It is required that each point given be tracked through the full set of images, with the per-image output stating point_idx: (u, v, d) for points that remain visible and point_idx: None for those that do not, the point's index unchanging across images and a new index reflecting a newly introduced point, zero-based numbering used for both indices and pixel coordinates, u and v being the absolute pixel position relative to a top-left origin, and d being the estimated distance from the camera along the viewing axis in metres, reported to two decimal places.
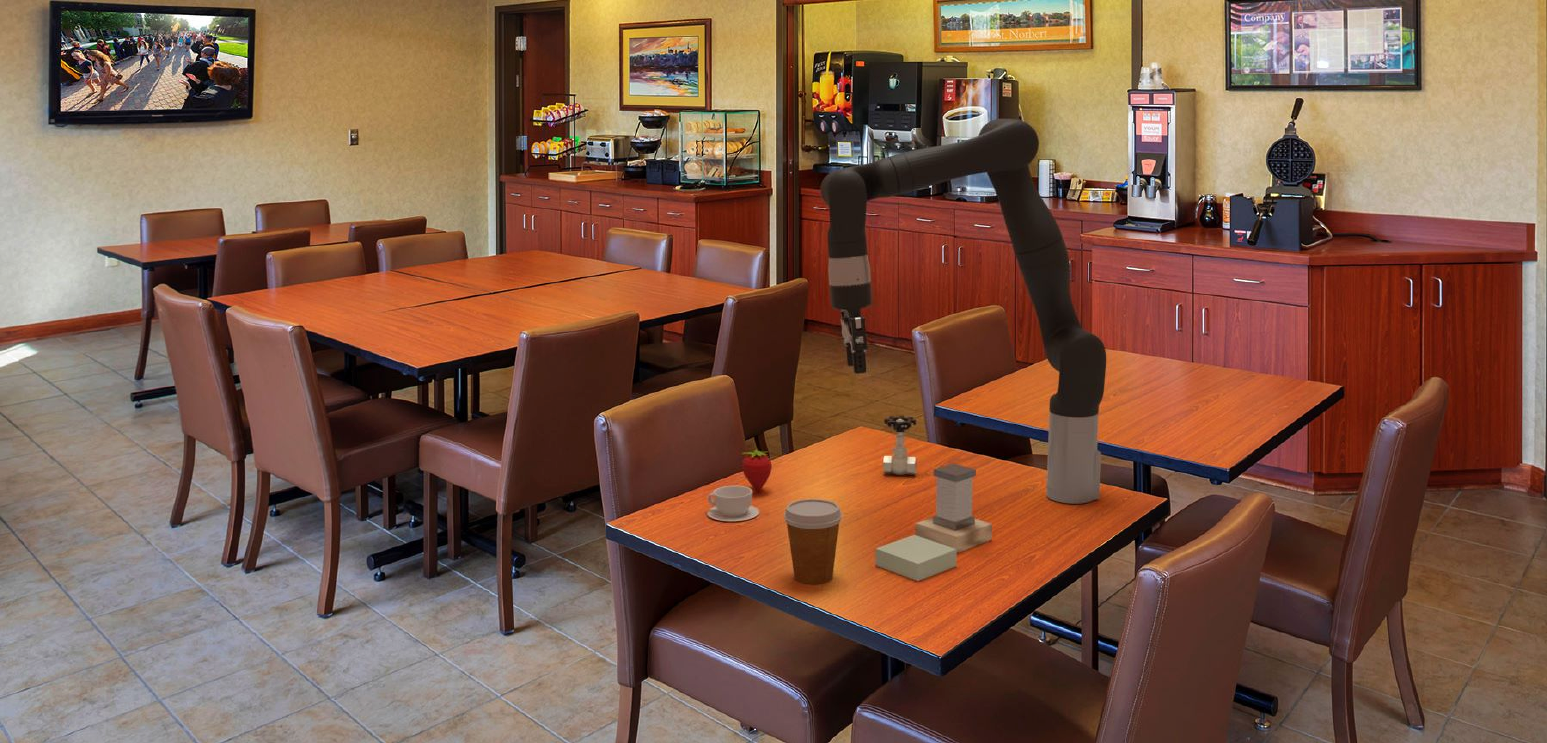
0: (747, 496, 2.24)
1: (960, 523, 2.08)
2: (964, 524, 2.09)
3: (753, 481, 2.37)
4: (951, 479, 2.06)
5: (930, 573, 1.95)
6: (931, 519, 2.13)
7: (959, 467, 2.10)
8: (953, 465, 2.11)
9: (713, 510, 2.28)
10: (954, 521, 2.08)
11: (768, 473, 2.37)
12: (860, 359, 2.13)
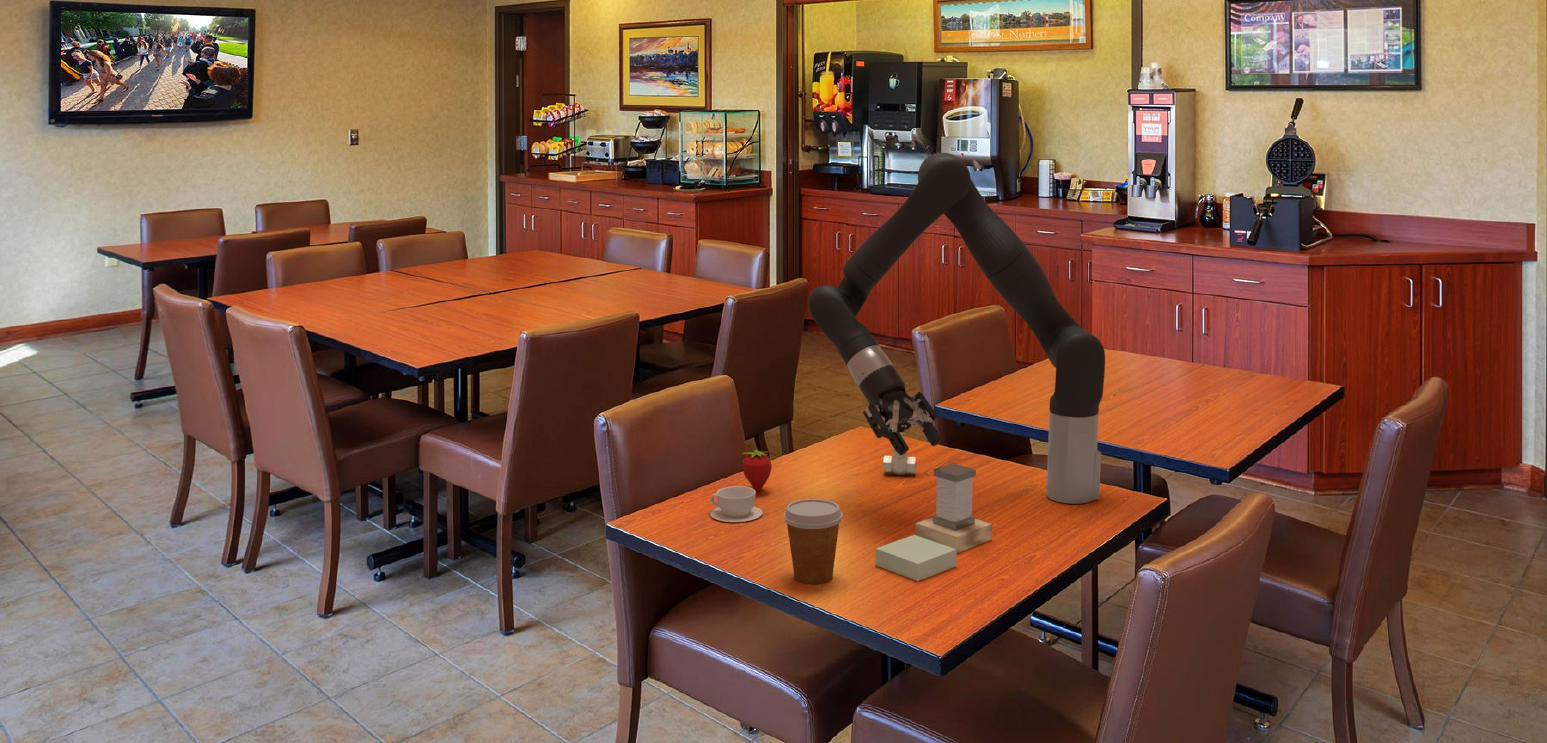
0: (750, 497, 2.23)
1: (960, 523, 2.08)
2: (964, 524, 2.09)
3: (753, 481, 2.37)
4: (951, 479, 2.06)
5: (930, 573, 1.95)
6: (931, 519, 2.13)
7: (959, 467, 2.10)
8: (953, 465, 2.11)
9: (716, 511, 2.28)
10: (954, 521, 2.08)
11: (768, 473, 2.37)
12: (893, 441, 2.12)
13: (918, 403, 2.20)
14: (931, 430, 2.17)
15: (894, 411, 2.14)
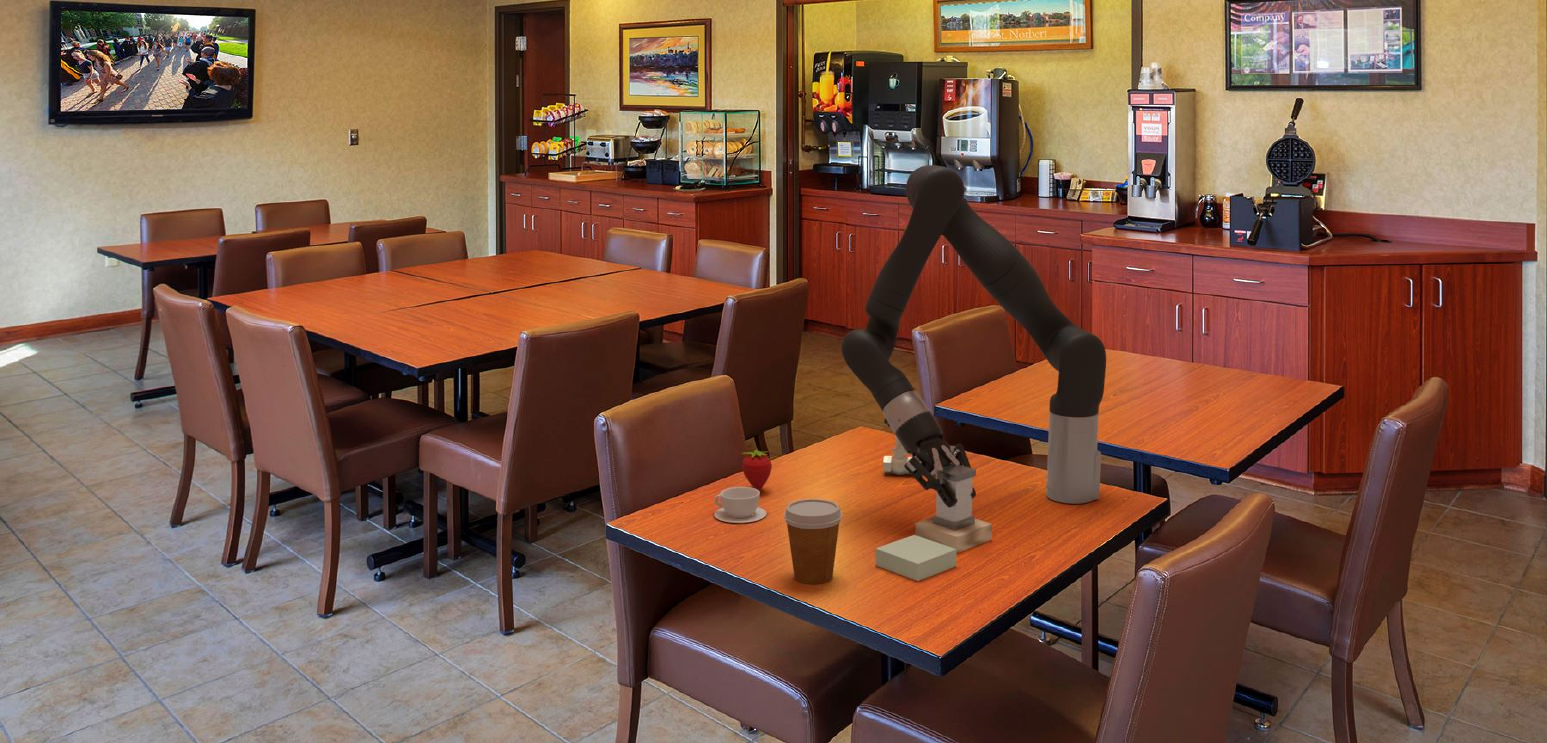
0: (755, 497, 2.23)
1: (960, 523, 2.08)
2: (964, 524, 2.09)
3: (753, 481, 2.37)
4: (951, 479, 2.06)
5: (930, 573, 1.95)
6: (931, 519, 2.13)
7: (959, 467, 2.10)
8: (953, 465, 2.11)
9: (720, 512, 2.27)
10: (954, 521, 2.08)
11: (768, 473, 2.37)
12: (942, 493, 2.07)
13: (956, 454, 2.15)
14: None
15: (936, 461, 2.09)
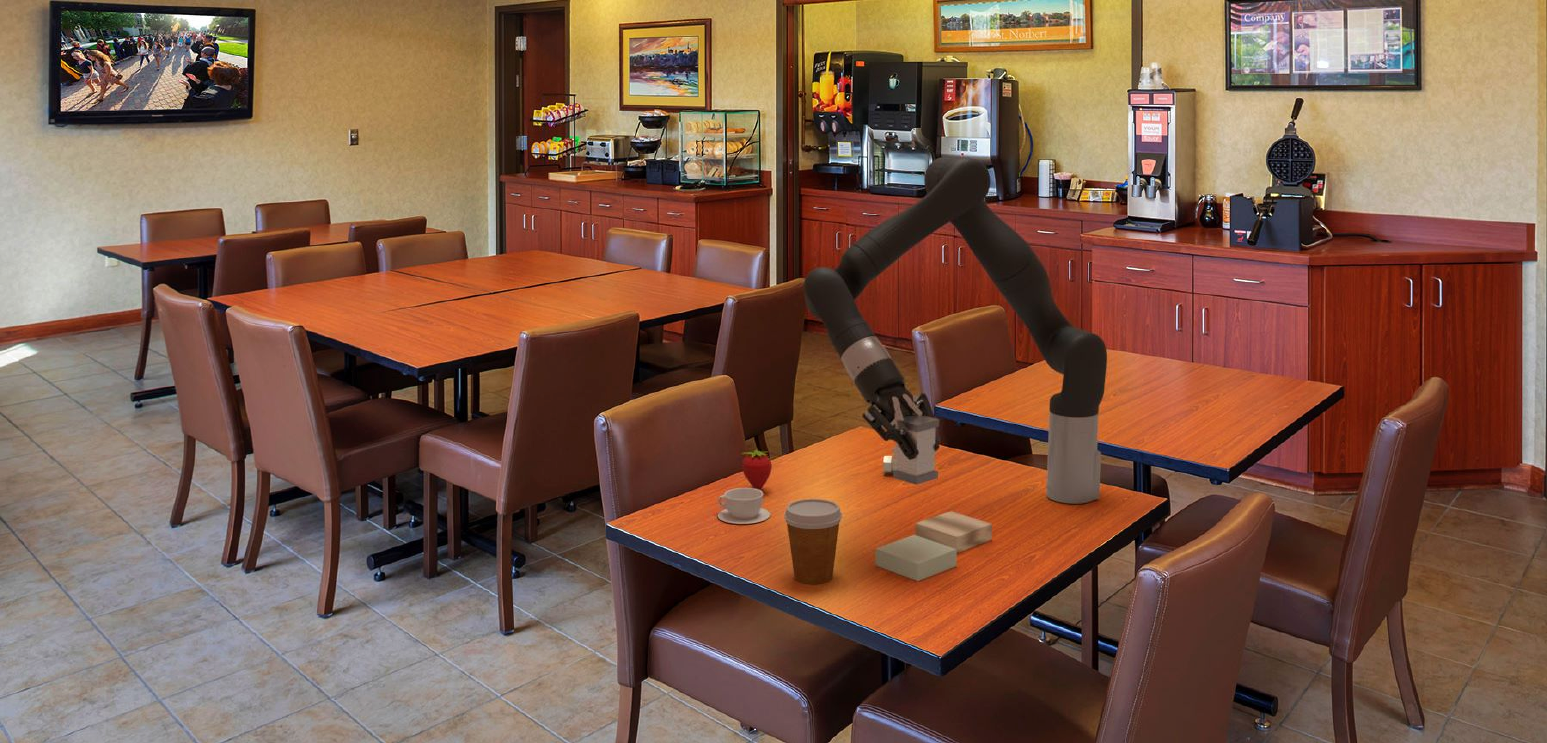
0: (758, 498, 2.22)
1: (922, 477, 1.94)
2: (926, 478, 1.95)
3: (753, 481, 2.37)
4: (912, 429, 1.92)
5: (930, 573, 1.95)
6: (931, 519, 2.13)
7: (921, 417, 1.96)
8: (915, 415, 1.97)
9: (723, 513, 2.27)
10: (915, 474, 1.94)
11: (768, 473, 2.37)
12: (902, 444, 1.93)
13: (919, 404, 2.00)
14: None
15: (896, 410, 1.95)
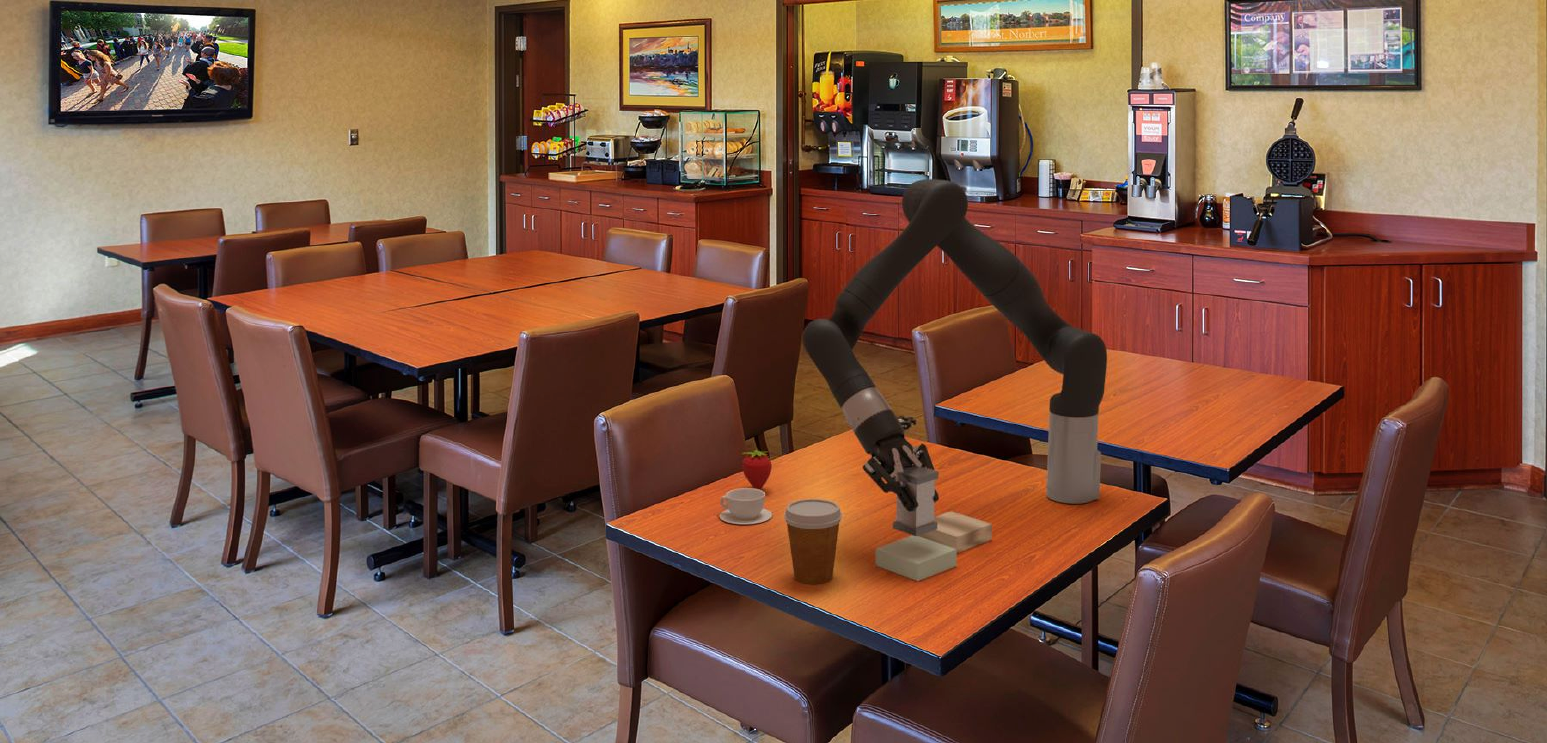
0: (760, 499, 2.22)
1: (921, 528, 1.96)
2: (925, 529, 1.96)
3: (753, 481, 2.37)
4: (912, 481, 1.94)
5: (930, 573, 1.95)
6: None
7: (921, 469, 1.97)
8: None
9: (725, 513, 2.26)
10: (915, 526, 1.95)
11: (768, 473, 2.37)
12: (902, 496, 1.95)
13: (918, 454, 2.02)
14: None
15: (896, 462, 1.97)
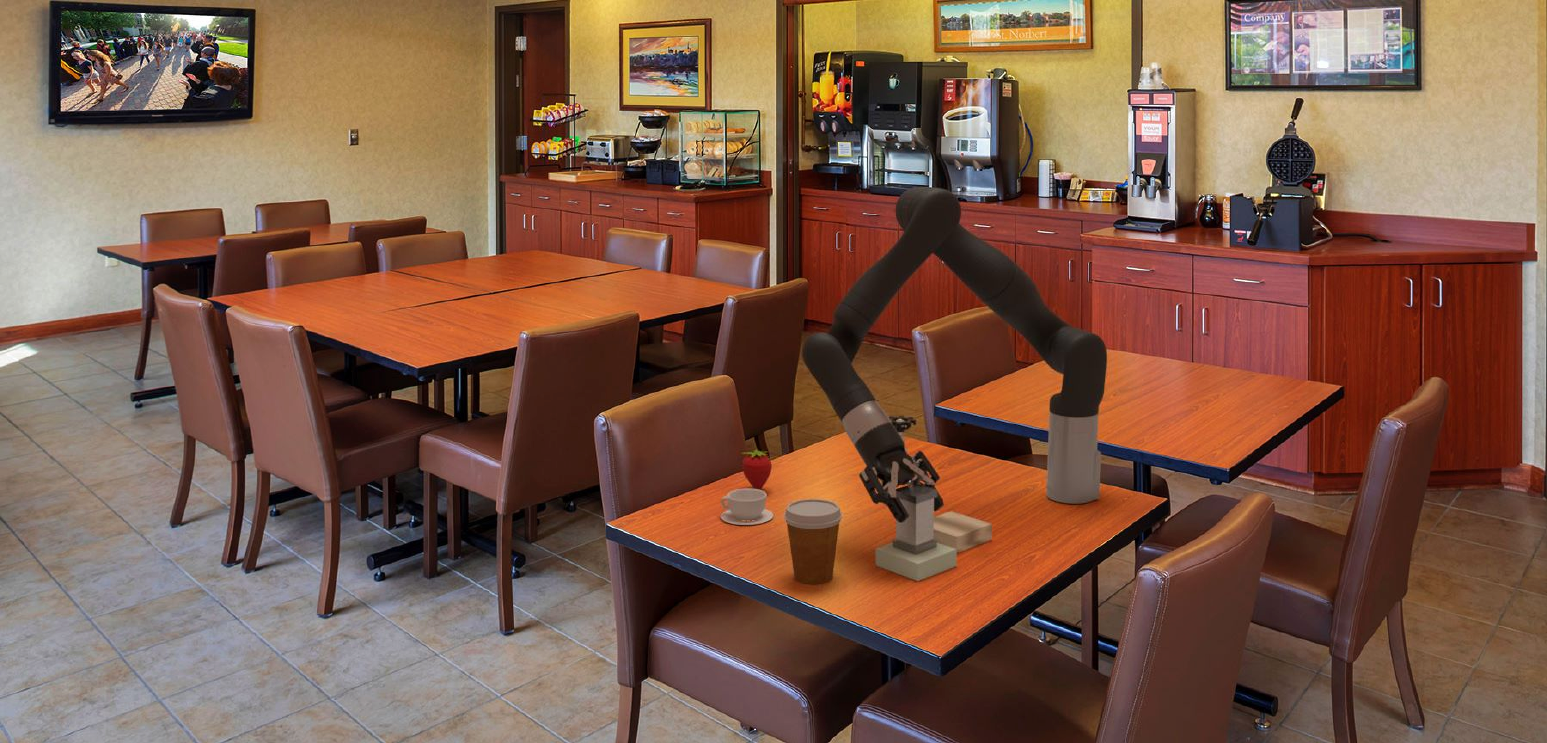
0: (762, 499, 2.22)
1: (921, 547, 1.97)
2: (925, 548, 1.98)
3: (753, 481, 2.37)
4: (911, 500, 1.96)
5: (930, 573, 1.95)
6: None
7: (920, 488, 1.99)
8: (914, 485, 2.00)
9: (726, 514, 2.26)
10: (914, 545, 1.97)
11: (768, 473, 2.37)
12: (892, 507, 1.94)
13: (919, 463, 2.03)
14: None
15: (893, 474, 1.97)
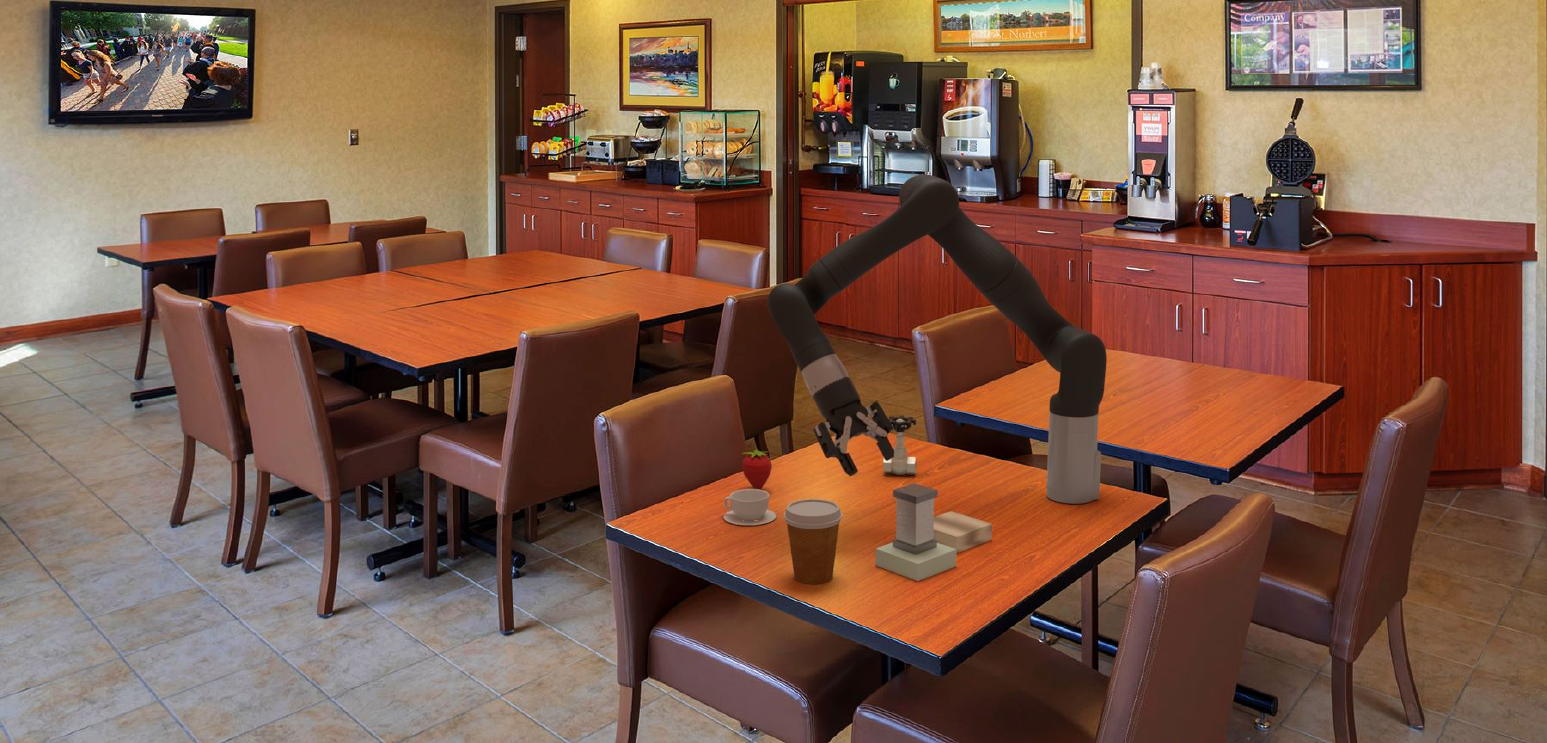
0: (764, 500, 2.22)
1: (921, 547, 1.97)
2: (925, 548, 1.98)
3: (753, 481, 2.37)
4: (911, 500, 1.96)
5: (930, 573, 1.95)
6: None
7: (920, 488, 1.99)
8: (914, 485, 2.00)
9: (729, 514, 2.26)
10: (914, 545, 1.97)
11: (768, 473, 2.37)
12: (842, 462, 2.06)
13: (874, 414, 2.13)
14: (885, 445, 2.11)
15: (845, 429, 2.07)
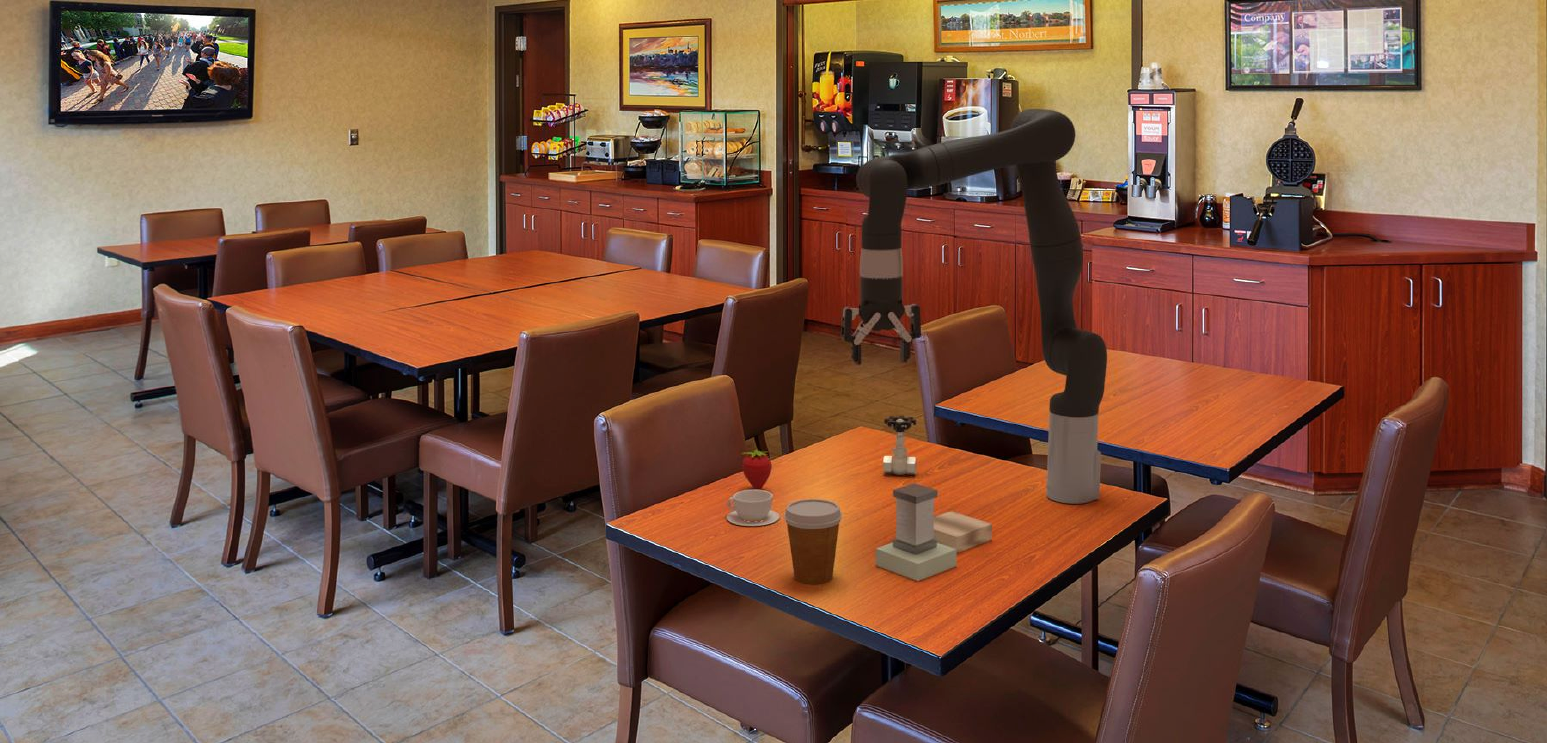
0: (768, 500, 2.21)
1: (921, 547, 1.97)
2: (925, 548, 1.98)
3: (753, 481, 2.37)
4: (911, 500, 1.96)
5: (930, 573, 1.95)
6: None
7: (920, 488, 1.99)
8: (914, 485, 2.00)
9: (732, 515, 2.25)
10: (914, 545, 1.97)
11: (768, 473, 2.37)
12: (852, 350, 2.13)
13: (910, 315, 2.13)
14: (903, 349, 2.14)
15: (868, 324, 2.11)
